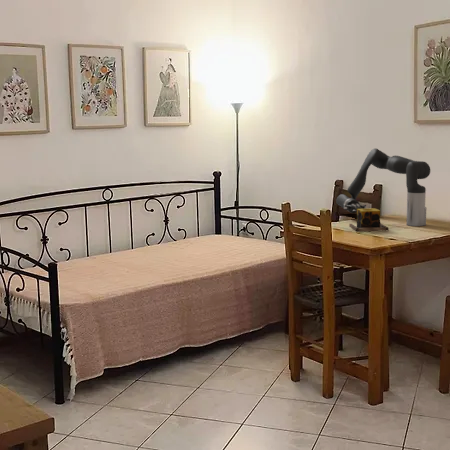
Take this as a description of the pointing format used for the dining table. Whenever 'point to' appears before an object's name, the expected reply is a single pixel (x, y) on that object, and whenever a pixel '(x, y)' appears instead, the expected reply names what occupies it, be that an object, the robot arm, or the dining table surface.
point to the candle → (368, 218)
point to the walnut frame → (382, 227)
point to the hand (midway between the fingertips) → (359, 209)
